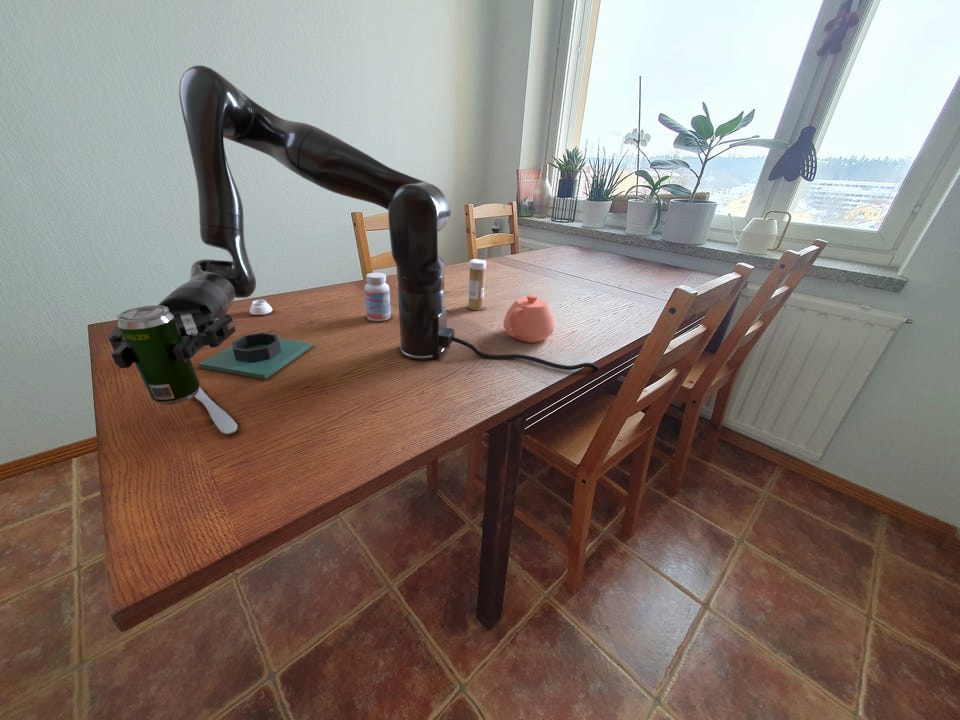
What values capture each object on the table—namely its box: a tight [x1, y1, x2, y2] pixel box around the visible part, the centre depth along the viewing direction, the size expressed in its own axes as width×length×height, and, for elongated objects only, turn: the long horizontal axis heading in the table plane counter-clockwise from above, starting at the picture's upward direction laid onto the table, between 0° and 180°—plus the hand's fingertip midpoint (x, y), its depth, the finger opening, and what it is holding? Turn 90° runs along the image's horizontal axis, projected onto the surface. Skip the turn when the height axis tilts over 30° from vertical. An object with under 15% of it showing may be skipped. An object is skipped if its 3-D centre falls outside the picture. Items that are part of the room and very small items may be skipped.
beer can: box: [116, 304, 201, 406], centre depth 48 cm, size 5×5×12 cm
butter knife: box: [193, 386, 238, 435], centre depth 62 cm, size 1×27×3 cm
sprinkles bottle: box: [467, 258, 487, 311], centre depth 104 cm, size 5×5×13 cm
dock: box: [198, 332, 312, 380], centre depth 75 cm, size 14×14×4 cm
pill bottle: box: [363, 272, 392, 322], centre depth 94 cm, size 6×6×11 cm
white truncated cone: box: [249, 299, 273, 316], centre depth 95 cm, size 5×3×5 cm
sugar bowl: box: [502, 293, 555, 344], centre depth 89 cm, size 12×14×10 cm
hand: (150, 358), depth 45 cm, fingers closed on beer can, 5 cm apart
